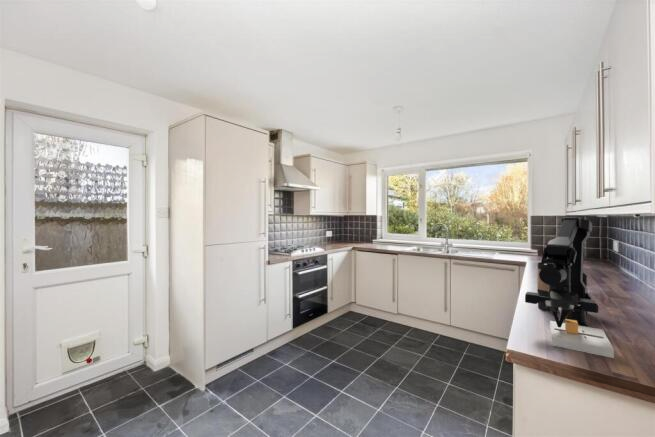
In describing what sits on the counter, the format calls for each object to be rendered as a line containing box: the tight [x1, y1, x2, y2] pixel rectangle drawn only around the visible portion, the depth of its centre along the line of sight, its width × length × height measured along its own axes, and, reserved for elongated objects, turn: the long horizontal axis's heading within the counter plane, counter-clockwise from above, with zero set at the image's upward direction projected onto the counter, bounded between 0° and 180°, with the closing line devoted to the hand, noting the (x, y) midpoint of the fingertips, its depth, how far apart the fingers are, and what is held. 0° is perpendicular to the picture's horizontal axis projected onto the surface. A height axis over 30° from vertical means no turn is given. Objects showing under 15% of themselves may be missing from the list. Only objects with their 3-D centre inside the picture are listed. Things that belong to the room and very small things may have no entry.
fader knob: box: [564, 319, 578, 334], centre depth 94 cm, size 4×3×3 cm
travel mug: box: [536, 262, 560, 312], centre depth 125 cm, size 8×8×20 cm
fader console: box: [549, 320, 615, 359], centre depth 93 cm, size 18×14×3 cm
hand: (559, 327), depth 96 cm, fingers closed
